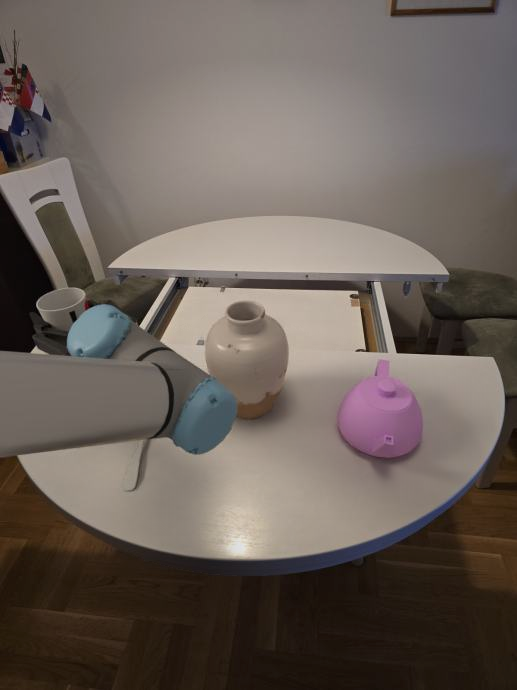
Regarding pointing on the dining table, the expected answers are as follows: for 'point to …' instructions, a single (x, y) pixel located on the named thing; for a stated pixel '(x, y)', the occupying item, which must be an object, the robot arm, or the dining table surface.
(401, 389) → the teapot
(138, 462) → the fork
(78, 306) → the cup
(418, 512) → the dining table surface
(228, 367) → the vase
